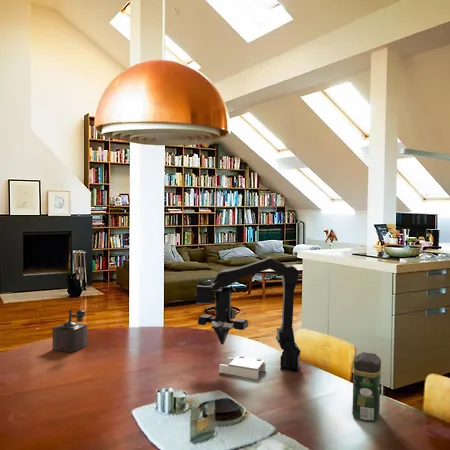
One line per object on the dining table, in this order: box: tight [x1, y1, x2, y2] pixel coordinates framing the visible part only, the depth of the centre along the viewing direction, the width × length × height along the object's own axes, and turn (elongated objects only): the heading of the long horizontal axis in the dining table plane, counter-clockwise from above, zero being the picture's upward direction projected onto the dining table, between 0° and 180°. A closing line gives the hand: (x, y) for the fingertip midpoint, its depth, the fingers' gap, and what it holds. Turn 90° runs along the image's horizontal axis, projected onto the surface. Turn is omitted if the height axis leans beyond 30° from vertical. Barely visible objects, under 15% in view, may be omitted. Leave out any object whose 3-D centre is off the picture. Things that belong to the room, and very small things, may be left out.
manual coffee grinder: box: [51, 308, 88, 353], centre depth 202 cm, size 16×11×18 cm
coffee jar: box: [351, 351, 382, 422], centre depth 145 cm, size 10×8×19 cm
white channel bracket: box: [218, 356, 267, 380], centre depth 179 cm, size 15×9×3 cm, turn 67°
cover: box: [229, 355, 266, 369], centre depth 179 cm, size 11×9×1 cm
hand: (222, 344), depth 182 cm, fingers closed
